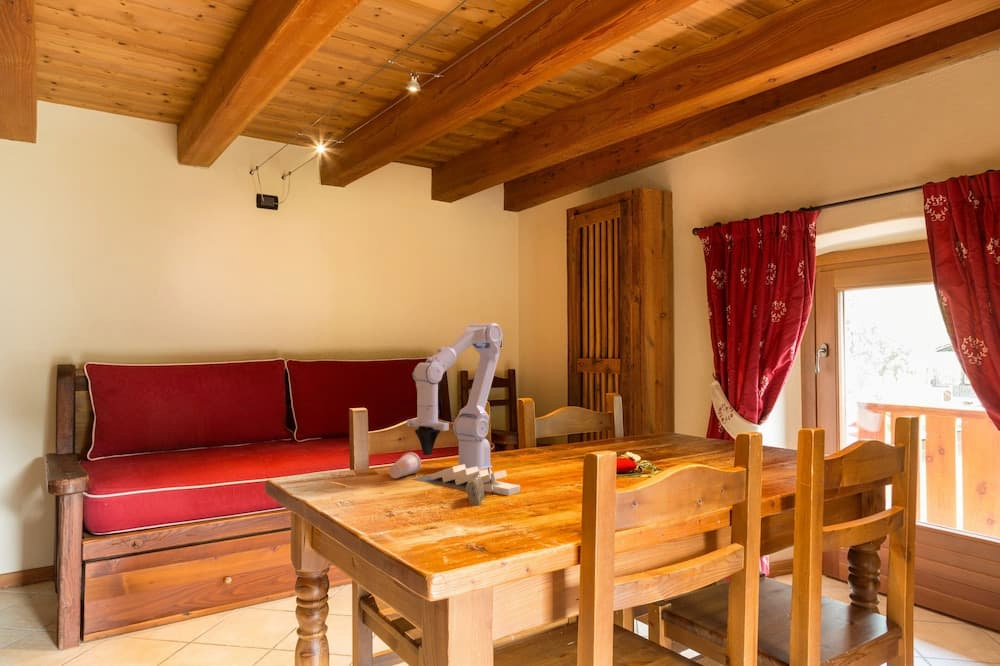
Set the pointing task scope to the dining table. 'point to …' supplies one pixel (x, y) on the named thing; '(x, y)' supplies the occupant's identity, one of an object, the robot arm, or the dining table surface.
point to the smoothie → (405, 465)
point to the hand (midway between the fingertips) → (427, 454)
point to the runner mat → (440, 482)
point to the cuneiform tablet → (476, 489)
